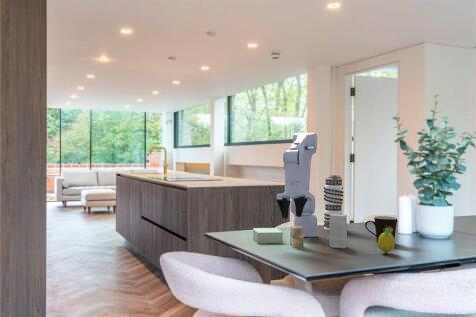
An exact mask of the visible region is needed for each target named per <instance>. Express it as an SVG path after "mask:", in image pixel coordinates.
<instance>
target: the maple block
mask: <svg viewBox="0 0 476 317" xmlns="http://www.w3.org/2000/svg"><path fill="white" fill-rule="evenodd" d="M289 231H290V232H289V234H290V235H289V236H290V237H289V239H290V240H289V242H290V243H289V246H291V247H292V248H304V238H305V237H304V228H303V227H301V226H294V225H293V226H290V230H289Z"/></svg>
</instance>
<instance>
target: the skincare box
mask: <svg viewBox="0 0 476 317" xmlns="http://www.w3.org/2000/svg"><path fill="white" fill-rule="evenodd" d="M347 225H348V216H347V214H342V215H341V214H331V215H330V230H329V248H335V249H336V248H338V249H347V246H348V239H347V238H348V237H347V232H348V226H347Z"/></svg>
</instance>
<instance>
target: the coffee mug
mask: <svg viewBox="0 0 476 317" xmlns="http://www.w3.org/2000/svg"><path fill="white" fill-rule="evenodd" d="M373 219H374V220H366V222H365V224H364V227H365V229H366V230H367V231H368V233H370V234H372V235H373V236H375V237H376V243H377V244H378V239H379V237H380V235H381V234H382V233H384V232H385V230H386V225H387V230H388V233H390V234H391V235H392V236H393V238H394V241H395V242H396V240H395V239H396V231H397V226H398V217H396V216H388V215H387V216H386V215H376V216H374V217H373ZM369 223H372V224H373V225H374V228H375V232H373V231H371V230H370V229H369V228H368V227H367V225H368V224H369Z"/></svg>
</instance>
